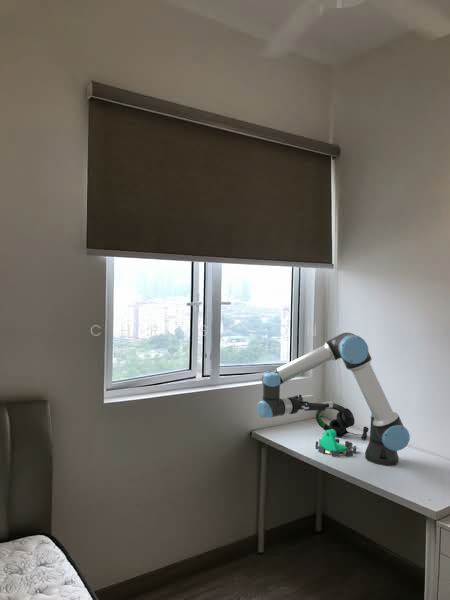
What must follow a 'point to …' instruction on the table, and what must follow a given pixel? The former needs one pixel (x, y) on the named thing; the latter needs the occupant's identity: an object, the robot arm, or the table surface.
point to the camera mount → (331, 442)
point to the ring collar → (338, 453)
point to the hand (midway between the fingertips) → (322, 400)
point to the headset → (340, 421)
